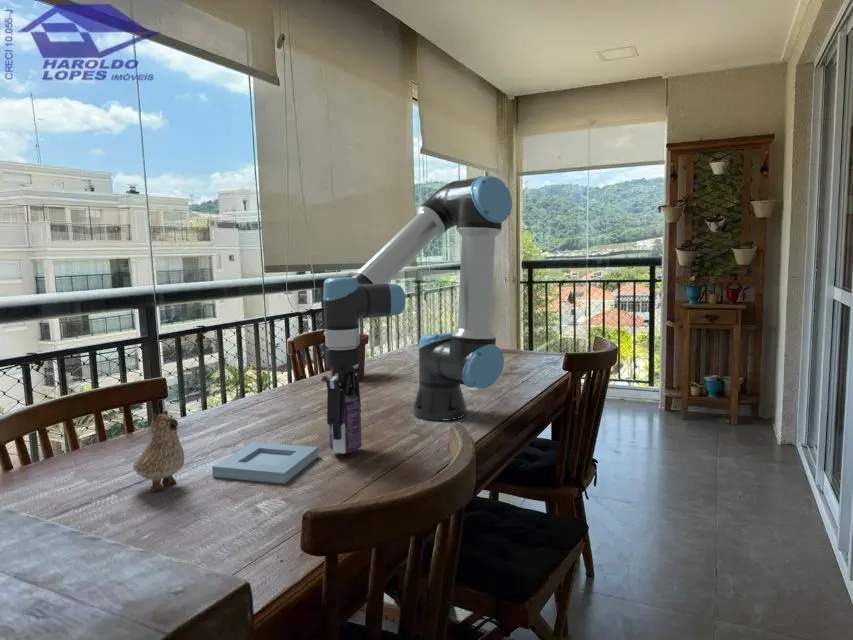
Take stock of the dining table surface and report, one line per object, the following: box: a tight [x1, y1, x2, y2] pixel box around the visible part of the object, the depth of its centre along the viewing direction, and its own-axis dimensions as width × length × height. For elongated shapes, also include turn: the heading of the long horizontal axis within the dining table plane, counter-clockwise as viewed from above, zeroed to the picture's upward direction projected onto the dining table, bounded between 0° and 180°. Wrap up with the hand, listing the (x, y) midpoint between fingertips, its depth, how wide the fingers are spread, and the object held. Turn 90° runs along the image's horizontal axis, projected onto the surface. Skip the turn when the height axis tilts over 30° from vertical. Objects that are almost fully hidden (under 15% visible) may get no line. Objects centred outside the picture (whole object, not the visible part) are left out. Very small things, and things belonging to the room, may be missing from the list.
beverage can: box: [328, 395, 362, 454], centre depth 131 cm, size 7×7×12 cm
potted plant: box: [320, 333, 370, 383], centre depth 207 cm, size 18×22×25 cm
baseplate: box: [211, 441, 319, 485], centre depth 123 cm, size 16×16×2 cm
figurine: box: [132, 410, 185, 493], centre depth 112 cm, size 9×10×15 cm
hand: (345, 446), depth 131 cm, fingers closed on beverage can, 7 cm apart
